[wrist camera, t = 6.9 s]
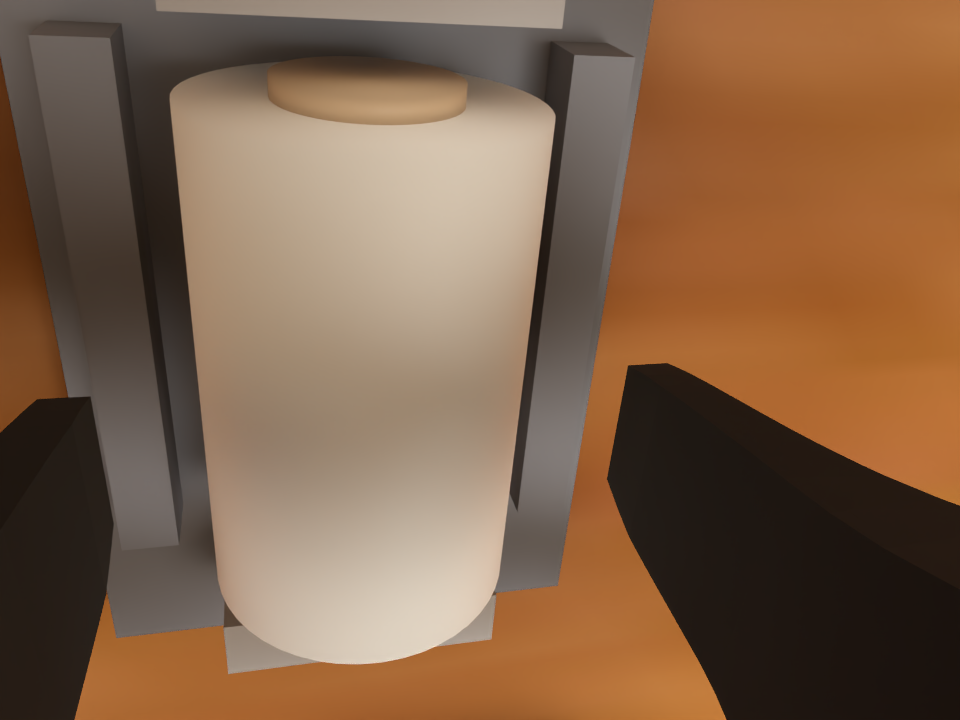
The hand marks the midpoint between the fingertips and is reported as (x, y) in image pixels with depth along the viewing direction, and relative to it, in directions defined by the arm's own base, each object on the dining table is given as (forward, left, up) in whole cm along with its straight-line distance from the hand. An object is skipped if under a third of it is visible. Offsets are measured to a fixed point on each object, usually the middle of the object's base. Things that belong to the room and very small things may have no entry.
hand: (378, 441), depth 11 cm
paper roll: (0, 0, -5) cm, 5 cm away
